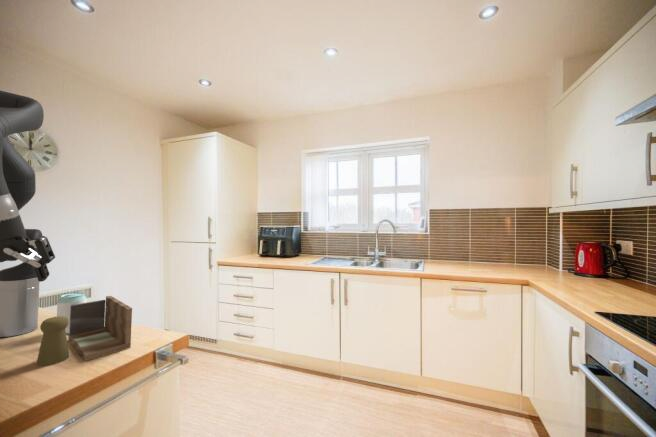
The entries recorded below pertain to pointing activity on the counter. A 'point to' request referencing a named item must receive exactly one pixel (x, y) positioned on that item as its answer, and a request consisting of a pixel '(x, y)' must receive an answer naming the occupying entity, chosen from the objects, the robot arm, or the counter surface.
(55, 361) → the cork
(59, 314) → the can
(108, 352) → the shelf
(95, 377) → the counter surface
